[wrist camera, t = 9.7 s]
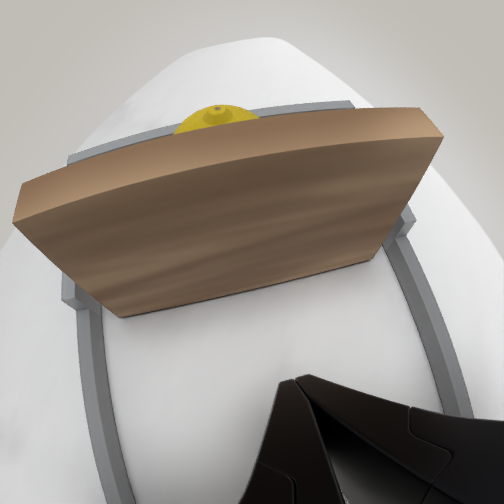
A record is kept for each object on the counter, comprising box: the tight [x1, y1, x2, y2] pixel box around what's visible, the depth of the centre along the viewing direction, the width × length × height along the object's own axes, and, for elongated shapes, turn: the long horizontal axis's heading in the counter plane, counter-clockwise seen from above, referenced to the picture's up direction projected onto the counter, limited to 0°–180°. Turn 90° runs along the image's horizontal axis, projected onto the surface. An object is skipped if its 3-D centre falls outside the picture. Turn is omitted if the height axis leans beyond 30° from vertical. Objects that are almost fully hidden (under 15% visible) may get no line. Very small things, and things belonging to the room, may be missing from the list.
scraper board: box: [12, 108, 444, 318], centre depth 12 cm, size 2×14×9 cm, turn 104°
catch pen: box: [61, 100, 474, 504], centre depth 14 cm, size 21×18×4 cm
